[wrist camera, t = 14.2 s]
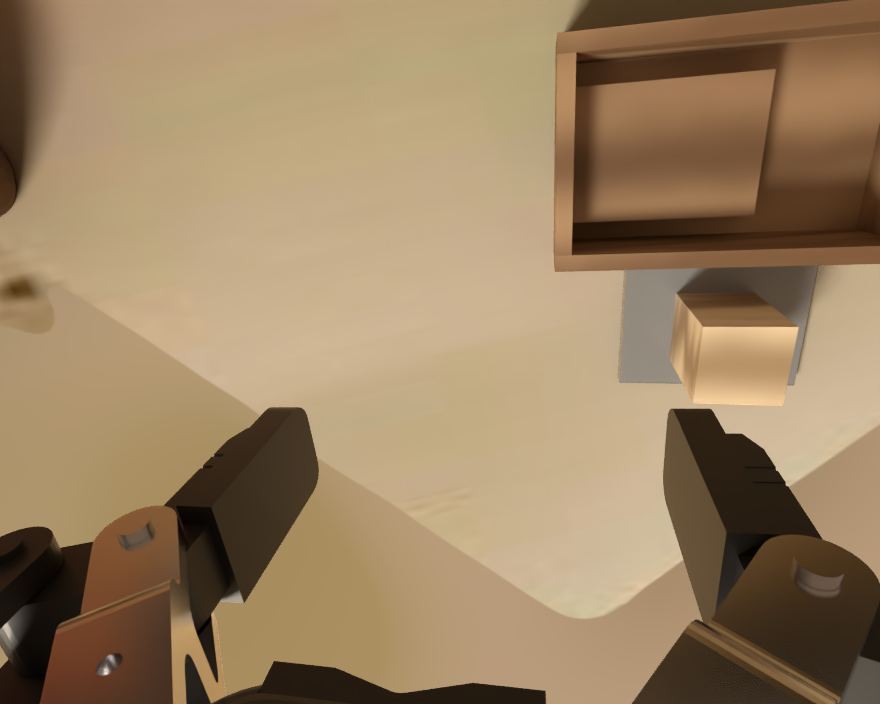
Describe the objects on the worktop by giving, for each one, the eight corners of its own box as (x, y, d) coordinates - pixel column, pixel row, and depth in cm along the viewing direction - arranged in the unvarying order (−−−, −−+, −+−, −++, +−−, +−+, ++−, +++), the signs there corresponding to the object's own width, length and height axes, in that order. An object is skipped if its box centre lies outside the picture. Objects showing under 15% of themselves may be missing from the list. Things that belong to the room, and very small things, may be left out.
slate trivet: (624, 263, 38) (626, 266, 37) (811, 258, 35) (818, 261, 35) (617, 377, 41) (619, 382, 40) (788, 379, 39) (794, 385, 38)
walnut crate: (555, 49, 34) (557, 33, 28) (919, 10, 30) (1003, -17, 24) (553, 252, 38) (554, 271, 33) (865, 241, 34) (925, 262, 29)
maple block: (676, 293, 37) (703, 326, 31) (754, 292, 36) (798, 326, 30) (669, 358, 39) (693, 403, 32) (743, 359, 38) (782, 405, 32)
